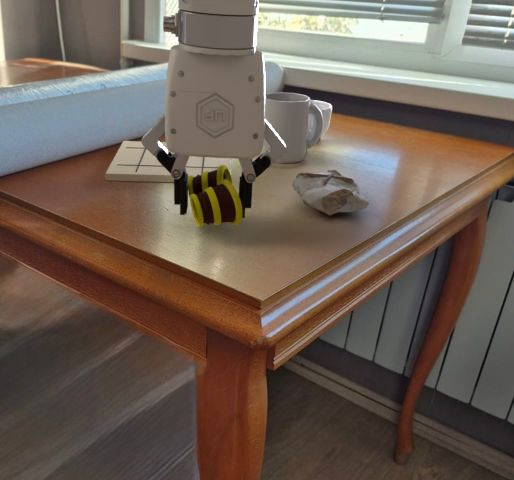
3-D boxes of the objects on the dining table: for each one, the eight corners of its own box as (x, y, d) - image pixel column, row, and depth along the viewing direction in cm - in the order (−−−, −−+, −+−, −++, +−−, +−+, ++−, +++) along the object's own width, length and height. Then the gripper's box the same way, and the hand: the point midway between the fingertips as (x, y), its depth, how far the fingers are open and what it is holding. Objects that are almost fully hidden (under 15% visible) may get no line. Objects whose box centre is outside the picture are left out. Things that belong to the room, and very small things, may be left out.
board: (105, 180, 82) (105, 172, 82) (123, 147, 97) (123, 140, 96) (231, 184, 83) (231, 176, 83) (230, 150, 98) (230, 143, 97)
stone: (284, 188, 83) (285, 164, 81) (348, 187, 84) (351, 163, 83) (305, 221, 73) (308, 194, 71) (377, 218, 75) (381, 192, 73)
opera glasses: (191, 206, 73) (183, 166, 70) (234, 199, 73) (228, 158, 70) (197, 239, 65) (188, 194, 62) (245, 230, 65) (238, 185, 62)
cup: (253, 151, 98) (255, 92, 93) (311, 149, 100) (316, 91, 95) (268, 164, 92) (271, 102, 87) (328, 161, 95) (335, 101, 90)
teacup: (286, 130, 111) (289, 98, 108) (329, 132, 110) (332, 101, 107) (283, 144, 102) (285, 110, 99) (329, 147, 102) (332, 113, 99)
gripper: (121, 31, 55) (131, 221, 65) (310, 44, 56) (291, 228, 66) (132, 23, 61) (139, 197, 71) (301, 35, 62) (285, 204, 72)
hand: (212, 210), depth 68 cm, fingers closed on opera glasses, 5 cm apart
